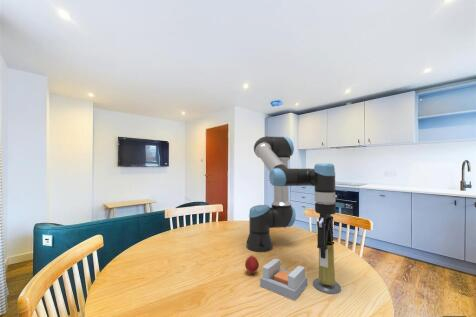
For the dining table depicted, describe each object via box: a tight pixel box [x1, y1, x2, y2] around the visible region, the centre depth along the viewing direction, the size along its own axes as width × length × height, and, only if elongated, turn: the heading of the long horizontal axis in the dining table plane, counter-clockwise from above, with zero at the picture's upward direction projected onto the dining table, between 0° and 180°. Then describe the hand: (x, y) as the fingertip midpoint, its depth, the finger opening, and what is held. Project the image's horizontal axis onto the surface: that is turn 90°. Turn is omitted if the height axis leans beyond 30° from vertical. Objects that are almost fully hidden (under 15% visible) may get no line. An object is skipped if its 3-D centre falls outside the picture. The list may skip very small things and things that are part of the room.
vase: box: [317, 242, 336, 285], centre depth 80 cm, size 6×6×14 cm
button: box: [274, 270, 290, 285], centre depth 80 cm, size 6×6×4 cm
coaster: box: [312, 277, 342, 295], centre depth 80 cm, size 10×10×1 cm
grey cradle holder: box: [259, 258, 308, 301], centre depth 80 cm, size 14×12×7 cm
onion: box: [244, 254, 260, 275], centre depth 89 cm, size 6×6×8 cm
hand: (326, 263), depth 80 cm, fingers closed on vase, 5 cm apart
